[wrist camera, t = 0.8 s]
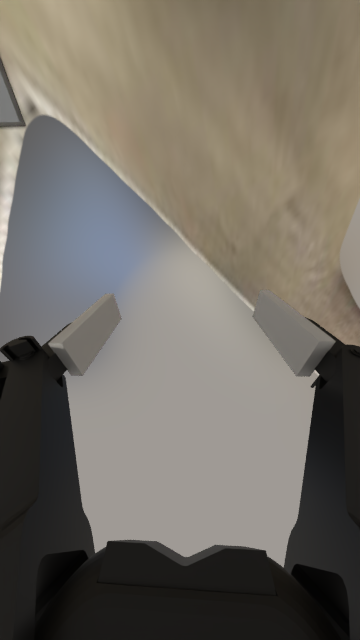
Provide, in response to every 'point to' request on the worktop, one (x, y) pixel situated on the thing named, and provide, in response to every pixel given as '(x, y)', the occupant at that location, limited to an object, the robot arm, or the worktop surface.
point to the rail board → (8, 103)
